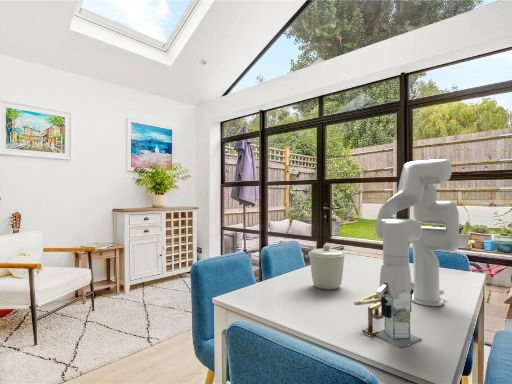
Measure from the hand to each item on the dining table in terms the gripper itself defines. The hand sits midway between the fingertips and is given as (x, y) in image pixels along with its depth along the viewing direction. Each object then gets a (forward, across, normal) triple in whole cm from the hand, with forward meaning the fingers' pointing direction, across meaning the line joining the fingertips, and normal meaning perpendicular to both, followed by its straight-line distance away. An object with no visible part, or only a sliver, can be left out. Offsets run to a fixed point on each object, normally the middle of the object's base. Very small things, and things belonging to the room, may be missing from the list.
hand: (396, 313), depth 98 cm
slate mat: (+7, 0, 0) cm, 8 cm away
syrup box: (+7, 0, 0) cm, 7 cm away
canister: (+8, -18, -52) cm, 55 cm away
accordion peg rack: (+7, -2, -10) cm, 13 cm away
